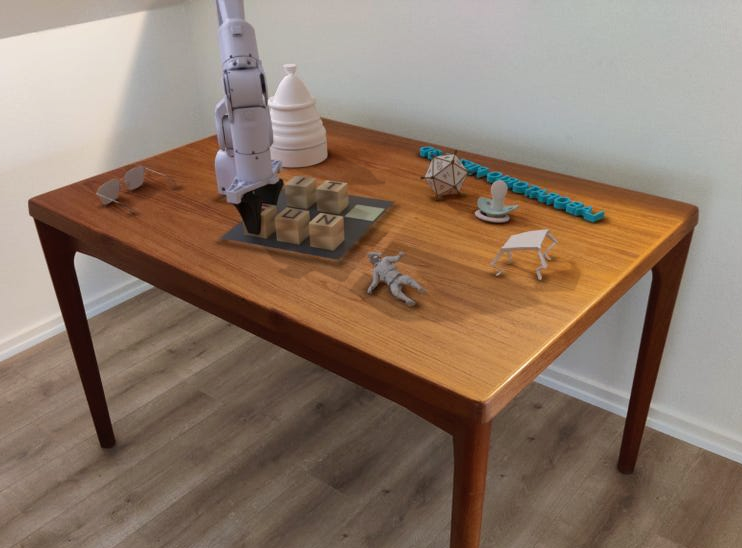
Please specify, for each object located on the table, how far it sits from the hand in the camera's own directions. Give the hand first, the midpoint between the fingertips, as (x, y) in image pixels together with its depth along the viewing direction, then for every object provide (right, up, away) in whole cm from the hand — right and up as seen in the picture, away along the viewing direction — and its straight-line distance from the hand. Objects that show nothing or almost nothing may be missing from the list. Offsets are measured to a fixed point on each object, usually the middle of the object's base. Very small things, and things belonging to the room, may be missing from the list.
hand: (261, 227), depth 124 cm
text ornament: (+44, +12, +18) cm, 49 cm away
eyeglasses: (-25, +8, +16) cm, 31 cm away
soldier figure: (+22, -12, -14) cm, 29 cm away
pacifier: (+40, +3, +6) cm, 41 cm away
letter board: (+8, +1, +5) cm, 9 cm away
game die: (+32, +8, +14) cm, 36 cm away
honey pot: (+3, +21, +32) cm, 39 cm away
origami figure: (+43, -8, -10) cm, 45 cm away
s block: (0, -1, 0) cm, 1 cm away
